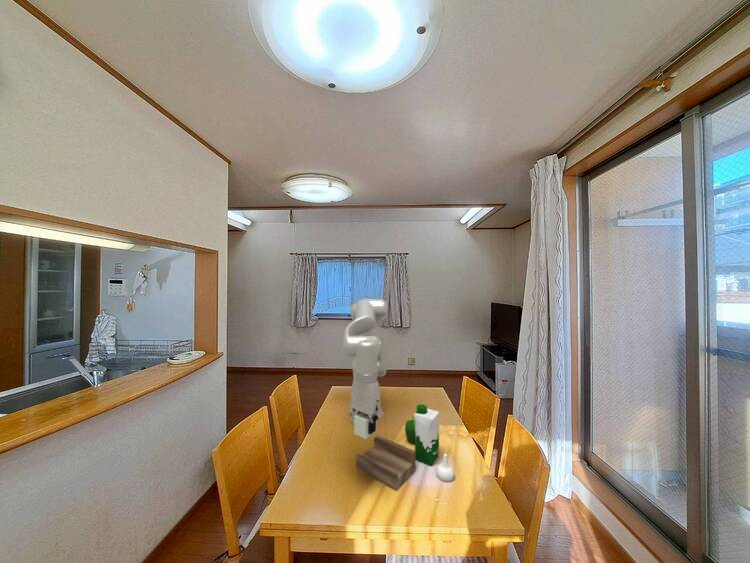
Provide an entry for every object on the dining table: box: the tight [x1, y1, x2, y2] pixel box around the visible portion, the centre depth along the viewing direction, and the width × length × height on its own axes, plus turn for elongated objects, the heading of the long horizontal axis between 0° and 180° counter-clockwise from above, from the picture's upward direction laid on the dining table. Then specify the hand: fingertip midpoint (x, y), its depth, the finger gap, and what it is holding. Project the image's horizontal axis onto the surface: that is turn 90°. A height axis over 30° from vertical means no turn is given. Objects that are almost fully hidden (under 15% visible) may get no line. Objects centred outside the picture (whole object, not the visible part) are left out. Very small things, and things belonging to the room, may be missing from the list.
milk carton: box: [413, 404, 440, 467], centre depth 108 cm, size 9×9×20 cm
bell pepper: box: [404, 415, 415, 445], centre depth 120 cm, size 8×8×10 cm
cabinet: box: [353, 412, 378, 439], centre depth 93 cm, size 5×6×7 cm
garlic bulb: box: [435, 453, 455, 482], centre depth 98 cm, size 6×6×8 cm
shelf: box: [355, 434, 417, 491], centre depth 101 cm, size 13×18×7 cm
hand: (365, 429), depth 93 cm, fingers closed on cabinet, 5 cm apart
